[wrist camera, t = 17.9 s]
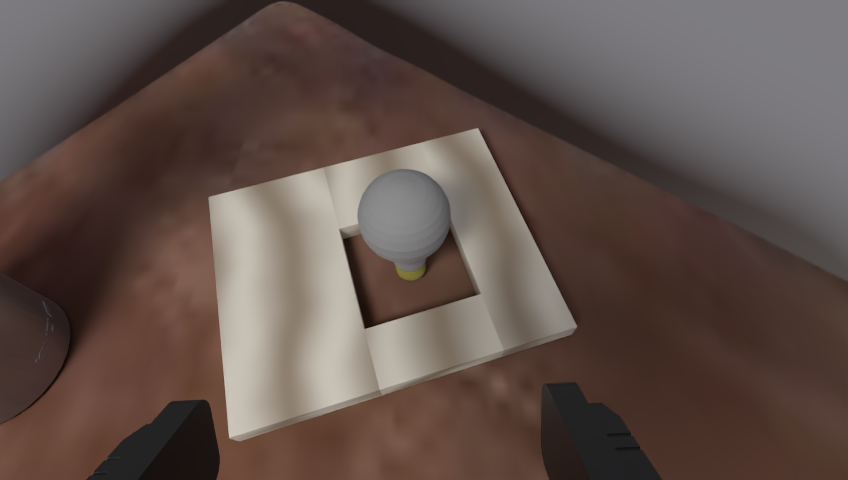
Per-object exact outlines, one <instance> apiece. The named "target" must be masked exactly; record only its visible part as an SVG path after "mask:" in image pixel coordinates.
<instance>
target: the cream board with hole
mask: <svg viewBox="0 0 848 480" xmlns="http://www.w3.org/2000/svg"><path fill="white" fill-rule="evenodd" d="M397 169H411V170H416V171H420V172H422V173H425V174H427V175H428V176H430V177H431V178H432V179H434V180H435V181H436V182H437V183H438V184H439V185H440V186H441V188H442V189H443V191H444V193H445V194H446V196H447V198H448V201H449V204H450V213H451V222H450V230H451V232H452V235H453V237H454V240H455V242H456V245H457V247H458V250H459V252H460V255H461V257H462V260H463V262H464V265H465V267H466V270H467V272H468V275H469V278H470V280H471V283H472V285H473V288H474V290H475V293H476V296H473V297H469V298H466V299H463V300H459V301H456V302H453V303H450V304H446V305H443V306H440V307H436V308H433V309H430V310H426V311H423V312H420V313H416V314H413V315H410V316H406V317H403V318H400V319H397V320H393V321H390V322H387V323H383V324H380V325H377V326H373V327H370V328H367V329H365V325H364V321H363V317H362V313H361V309H360V305H359V301H358V297H357V293H356V289H355V285H354V281H353V277H352V274H351V270H350V266H349V262H348V258H347V254H346V250H345V246H344V242H343V239H346V238H349V237H353V236H357V235H360V234H361V232H360V228H359V223H358V218H357V213H358V207H359V203H360V200H361V197H362V195H363V193H364V191H365V190H366V188H367V187H368V185H369V184H370V183H371V182H372V181H373V180H374V179H376V178H377V177H378V176H380V175H382V174H384V173H386V172H389V171H392V170H397ZM209 207H210V218H211V230H212V242H213V253H214V265H215V277H216V288H217V300H218V311H219V323H220V335H221V346H222V358H223V370H224V381H225V393H226V405H227V416H228V428H229V438H231V439H234V440H237V441H242V440H245V439H248V438H251V437H254V436H257V435H261V434H264V433H267V432H270V431H273V430H276V429H279V428H282V427H285V426H289V425H292V424H295V423H298V422H301V421H304V420H307V419H310V418H313V417H317V416H320V415H323V414H326V413H329V412H332V411H335V410H338V409H341V408H345V407H348V406H351V405H354V404H357V403H360V402H363V401H366V400H370V399H373V398H376V397H379V396H382V395H385V394H388V393H391V392H394V391H398V390H401V389H404V388H407V387H410V386H413V385H416V384H419V383H422V382H426V381H429V380H432V379H435V378H438V377H441V376H444V375H447V374H450V373H454V372H457V371H460V370H463V369H466V368H469V367H472V366H475V365H478V364H482V363H485V362H488V361H491V360H494V359H497V358H500V357H503V356H506V355H510V354H513V353H516V352H519V351H522V350H525V349H528V348H531V347H535V346H538V345H541V344H544V343H547V342H550V341H553V340H556V339H559V338H563V337H566V336H569V335H572V333H573V332H574V331H575V329H576V328H577V325H576V323H575V321H574V319H573V317H572V315H571V313H570V311H569V309H568V307H567V305H566V303H565V301H564V299H563V297H562V295H561V293H560V291H559V289H558V287H557V285H556V283H555V281H554V279H553V277H552V275H551V273H550V271H549V269H548V267H547V265H546V263H545V261H544V259H543V257H542V255H541V253H540V251H539V249H538V247H537V245H536V243H535V241H534V239H533V237H532V235H531V233H530V231H529V229H528V227H527V225H526V223H525V221H524V219H523V217H522V215H521V213H520V211H519V209H518V207H517V205H516V203H515V201H514V199H513V197H512V195H511V193H510V191H509V189H508V187H507V185H506V183H505V181H504V179H503V177H502V175H501V173H500V171H499V169H498V167H497V165H496V163H495V161H494V159H493V157H492V155H491V153H490V151H489V149H488V147H487V145H486V143H485V141H484V139H483V137H482V135H481V133H480V131H479V129H478V128H477V129H473V130H469V131H465V132H461V133H457V134H453V135H449V136H445V137H441V138H438V139H434V140H430V141H426V142H422V143H418V144H414V145H410V146H406V147H402V148H398V149H395V150H391V151H387V152H383V153H379V154H375V155H371V156H367V157H363V158H359V159H355V160H352V161H348V162H344V163H340V164H336V165H332V166H328V167H324V168H320V169H316V170H313V171H309V172H305V173H301V174H297V175H293V176H289V177H285V178H281V179H277V180H273V181H270V182H266V183H262V184H258V185H254V186H250V187H246V188H242V189H238V190H234V191H230V192H227V193H223V194H219V195H215V196H211V197H209Z"/></svg>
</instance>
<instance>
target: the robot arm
mask: <svg viewBox="0 0 848 480" xmlns="http://www.w3.org/2000/svg"><path fill="white" fill-rule="evenodd" d="M69 343H70V325H69V322H68V319H67V316H66V314H65V313H64V311H63V310H62V309H61V307H60V306H58V305H57V304H56V303H54V302H53V301H52V300H50V299H48V298H46V297H44V296H42V295H40V294H39V293H37V292H35V291H33V290H31V289H29V288H28V287H26V286H24V285H22V284H20V283H18V282H16V281H15V280H13V279H11V278H9V277H8V276H6V275H4V274H2V273H0V424H1V423H3V422H5V421H7V420H9V419H11V418H13V417H14V416H16V415H17V414H19V413H20V412H22V411H23V410H25V409H26V408H27V407H28V406H30V405H31V404H32V403H33V402H34V401H35V400H36V399H37V398H39V397H40V396H41V395H42V393H43V392H44V391H45V390H46V389H47V388H48V386H49V385H50V384H51V383H52V382H53V380H54V379H55V377H56V375H57V374H58V372H59V370H60V369H61V367H62V365H63V363H64V360H65V358H66V355H67V353H68V348H69ZM541 447H542V455H543V461H544V465H545V468H546V471H547V474H548V477H549V480H662V479H661V477H660V476H659V474H658V473H657V471H656V470H655V468H654V467H653V465H652V464H651V462H650V461H649V459H648V458H647V456H646V455H645V453H644V452H643V450H640V446H639V444H638V443H637V441H636V440H635V438H634V437H633V436H631V432H630V431H629V429H628V428H627V426H626V425H625V423H624V422H623V420H622V419H621V417H620V416H618V415H617V414H616V413H614V412H613V411H612V410H610V409H609V408H608V407H606V406H605V405H604V404H602V403H592V404H589V403H588V402H587V400H586V398H585V396H584V395H583V393H582V391H581V390H580V388H579V386H578V385H577V383H575V382H569V383H549V384H543V387H542V407H541ZM219 464H220V456H219V450H218V444H217V439H216V434H215V429H214V423H213V418H212V413H211V408H210V405H209V403H208V402H207V401H206V400H186V401H172V402H170V403H169V404H168V405H167V406H166V407H165V408H164V409H163V410H162V412H161V413H160V414H159V415H158V416H157V417H156V418H155V419H154V421H153V422H152V423H151V424H146V425H144V426H143V427H142V428H140V429H139V430H137V431H136V432H134V433H133V434H131V435H130V436H128V437H127V438H125V439H124V440H123V441H122V442H121V443H120V444H119V445H118V446H117V447H116V448H115V449H114V451H113V452H112V453H111V454H110V455H109V456H108V457H107V460H106V461H103V462H102V463H101V465H100V466H99V467H98V468H97V469H96V470H95V471H94V474H93V475H92V476H89V477H88V479H87V480H216V479H217V475H218V471H219Z"/></svg>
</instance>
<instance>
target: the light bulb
mask: <svg viewBox="0 0 848 480" xmlns="http://www.w3.org/2000/svg"><path fill="white" fill-rule="evenodd" d="M357 218H358V223H359V228H360V232H361V235H362V237H363V239H364V240H365V242H366V243H367V244H368V246H369V247H370V248H371V249H372V250H373V251H374V252H375V253H376V254H377V255H379V256H380V257H382V258H384V259H386V260H389V261H393V262H394V263H395V266H396V271H397V273H398V275H399V276H400V277H401V278H403V279H405V280H410V281H412V280H417V279H419V278H420V277H421V276H423V274H424V273H425V269H426V265H425V261H426V257H428V256H430V255H431V254H433V253H434V252H435V251H436V250H437V249H438V248H439V247H440V246H441V245H442V243H443V242H444V240H445V238H446V236H447V233H448V231H449V228H450V222H451V213H450V204H449V201H448V198H447V196H446V194H445V193H444V191H443V189H442V188H441V186H440V185H439V184H438V183H437V182H436V181H435V180H434V179H432V178H431V177H430V176H428V175H427V174H425V173H422V172H420V171H416V170H411V169H397V170H392V171H389V172H386V173H384V174H382V175H380V176H378V177H377V178H376V179H374V180H373V181H372V182H371V183H370V184H369V185H368V187H367V188H366V190H365V191H364V193H363V195H362V197H361V200H360V203H359V207H358V213H357Z"/></svg>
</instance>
